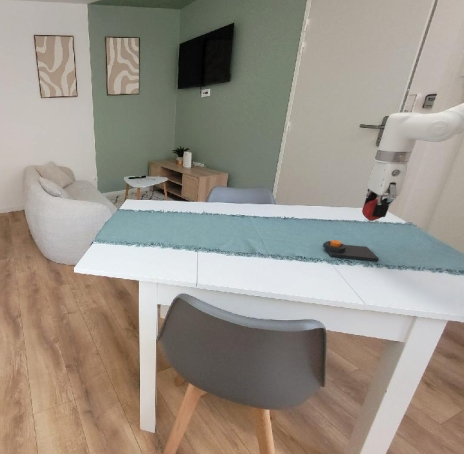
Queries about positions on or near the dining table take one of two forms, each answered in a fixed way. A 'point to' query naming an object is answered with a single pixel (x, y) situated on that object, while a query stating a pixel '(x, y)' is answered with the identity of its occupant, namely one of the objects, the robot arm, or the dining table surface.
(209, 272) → the dining table surface
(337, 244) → the tare button
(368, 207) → the onion
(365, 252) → the scale
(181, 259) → the dining table surface
